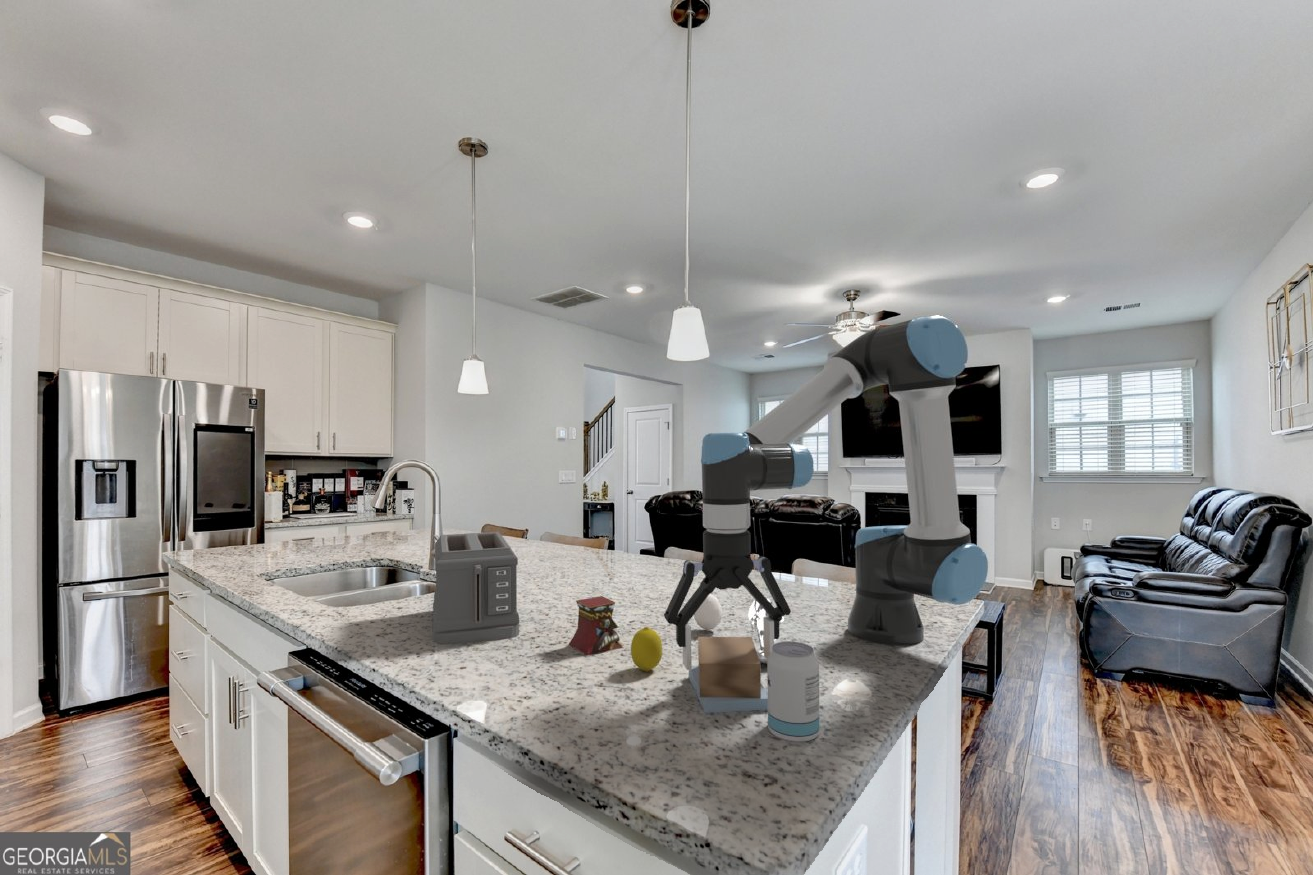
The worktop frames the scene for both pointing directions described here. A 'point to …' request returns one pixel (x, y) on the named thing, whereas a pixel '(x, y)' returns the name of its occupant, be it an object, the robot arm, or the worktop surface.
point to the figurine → (759, 626)
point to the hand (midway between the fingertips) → (728, 663)
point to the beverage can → (793, 692)
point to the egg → (709, 613)
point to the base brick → (727, 699)
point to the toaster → (474, 589)
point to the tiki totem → (595, 627)
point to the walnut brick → (728, 667)
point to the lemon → (646, 649)
